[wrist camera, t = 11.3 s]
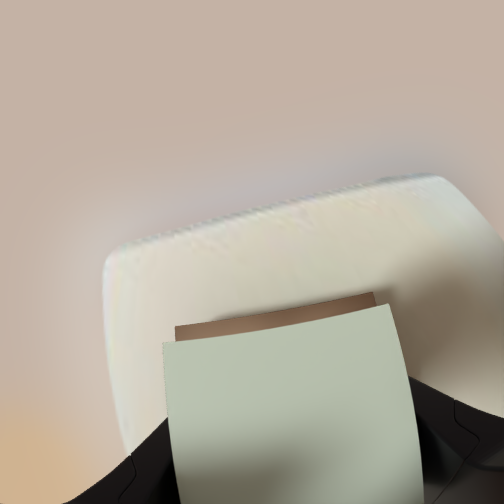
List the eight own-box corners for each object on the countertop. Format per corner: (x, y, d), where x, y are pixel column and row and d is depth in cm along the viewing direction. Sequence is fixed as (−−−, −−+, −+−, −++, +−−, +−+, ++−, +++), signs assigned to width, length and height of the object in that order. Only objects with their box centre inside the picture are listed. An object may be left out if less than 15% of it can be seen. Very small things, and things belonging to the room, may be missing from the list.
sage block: (344, 449, 12) (424, 507, 3) (250, 464, 12) (190, 546, 3) (329, 364, 14) (388, 303, 6) (238, 380, 14) (162, 342, 6)
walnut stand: (396, 471, 13) (409, 479, 11) (207, 503, 13) (197, 514, 11) (363, 304, 19) (372, 291, 17) (187, 335, 20) (174, 326, 18)
